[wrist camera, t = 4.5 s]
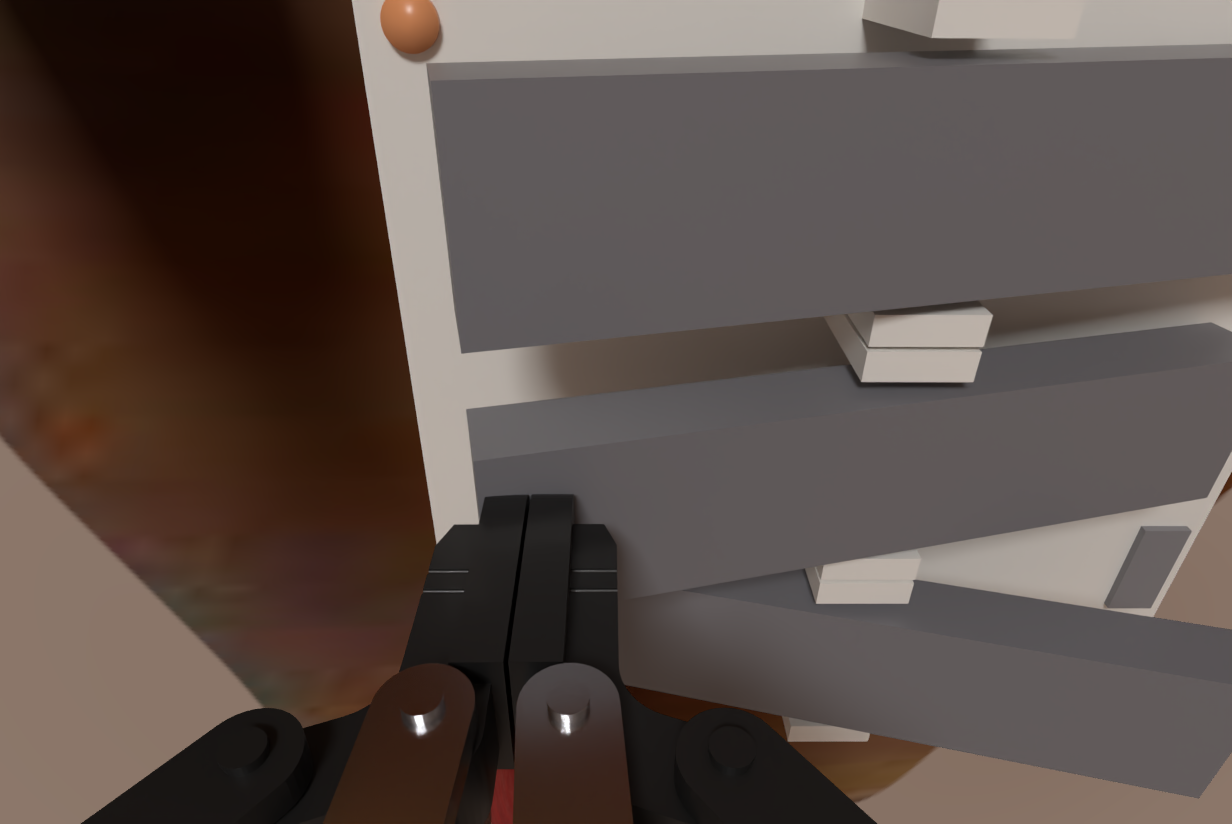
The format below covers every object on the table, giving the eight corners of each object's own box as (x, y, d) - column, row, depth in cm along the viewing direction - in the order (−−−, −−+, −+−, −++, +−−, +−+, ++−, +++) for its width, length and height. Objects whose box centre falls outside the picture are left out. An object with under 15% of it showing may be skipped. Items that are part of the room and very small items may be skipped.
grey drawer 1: (426, 63, 10) (430, 80, 9) (1339, 41, 13) (1441, 52, 12) (454, 308, 12) (460, 353, 11) (1248, 236, 15) (1328, 264, 14)
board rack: (407, -73, 17) (258, -88, 10) (1295, -66, 17) (1791, -75, 10) (479, 540, 26) (430, 761, 19) (1049, 540, 26) (1211, 759, 19)
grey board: (525, 517, 19) (503, 560, 18) (1236, 630, 16) (1274, 692, 15) (532, 617, 21) (513, 662, 20) (1171, 735, 18) (1198, 798, 17)
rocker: (466, 409, 13) (473, 461, 12) (1211, 322, 16) (1282, 355, 15) (483, 563, 15) (491, 623, 14) (1148, 457, 18) (1206, 497, 17)
